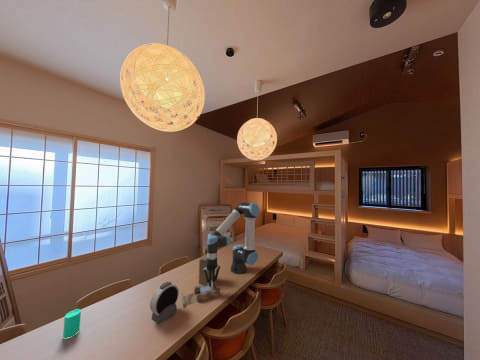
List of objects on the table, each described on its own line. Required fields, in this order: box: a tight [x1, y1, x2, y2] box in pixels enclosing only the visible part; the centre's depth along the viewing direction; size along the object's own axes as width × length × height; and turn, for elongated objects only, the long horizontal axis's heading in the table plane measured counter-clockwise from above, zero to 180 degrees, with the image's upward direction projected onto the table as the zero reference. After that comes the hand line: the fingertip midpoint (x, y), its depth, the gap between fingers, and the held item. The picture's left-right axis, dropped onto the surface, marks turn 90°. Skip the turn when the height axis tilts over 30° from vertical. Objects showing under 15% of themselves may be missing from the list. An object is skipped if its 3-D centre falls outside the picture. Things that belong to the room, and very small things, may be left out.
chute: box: [180, 281, 221, 308], centre depth 115 cm, size 25×11×5 cm, turn 116°
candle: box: [62, 308, 82, 338], centre depth 84 cm, size 6×6×12 cm
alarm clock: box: [149, 281, 180, 325], centre depth 98 cm, size 16×10×18 cm, turn 148°
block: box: [200, 286, 212, 293], centre depth 116 cm, size 7×6×4 cm
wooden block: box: [198, 254, 212, 285], centre depth 134 cm, size 10×10×20 cm
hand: (211, 290), depth 118 cm, fingers closed
